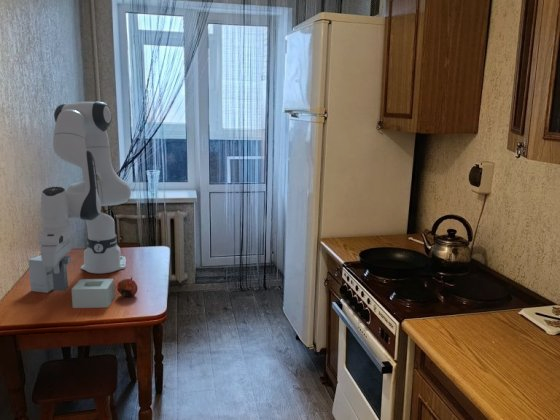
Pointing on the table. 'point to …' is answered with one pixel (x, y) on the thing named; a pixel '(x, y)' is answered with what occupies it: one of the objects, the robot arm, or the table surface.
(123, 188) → the robot arm
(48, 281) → the supplement box
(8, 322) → the table surface
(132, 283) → the pomegranate
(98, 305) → the well block
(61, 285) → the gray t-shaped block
